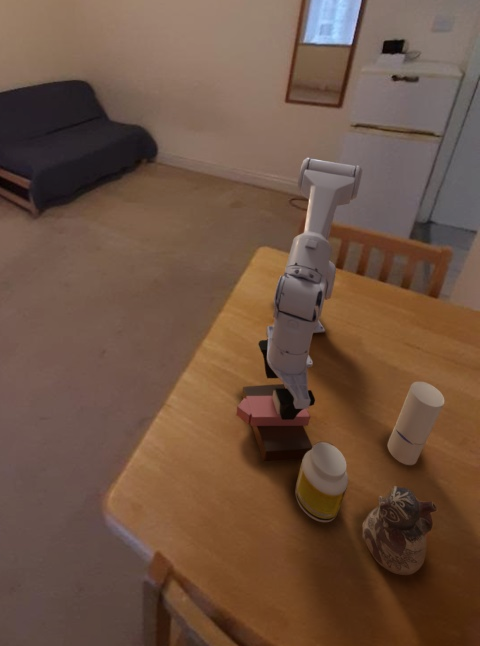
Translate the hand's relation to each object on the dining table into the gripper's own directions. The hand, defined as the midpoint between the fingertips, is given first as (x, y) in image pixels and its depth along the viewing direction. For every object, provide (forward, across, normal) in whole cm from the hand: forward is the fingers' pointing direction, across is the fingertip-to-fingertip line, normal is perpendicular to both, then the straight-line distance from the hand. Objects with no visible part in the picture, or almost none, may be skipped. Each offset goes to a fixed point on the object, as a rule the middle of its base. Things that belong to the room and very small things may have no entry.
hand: (279, 396), depth 70 cm
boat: (+5, 0, +1) cm, 5 cm away
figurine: (+8, -17, -11) cm, 22 cm away
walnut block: (+8, 0, 0) cm, 8 cm away
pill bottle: (+8, -12, -3) cm, 15 cm away
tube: (+8, -5, -20) cm, 22 cm away
